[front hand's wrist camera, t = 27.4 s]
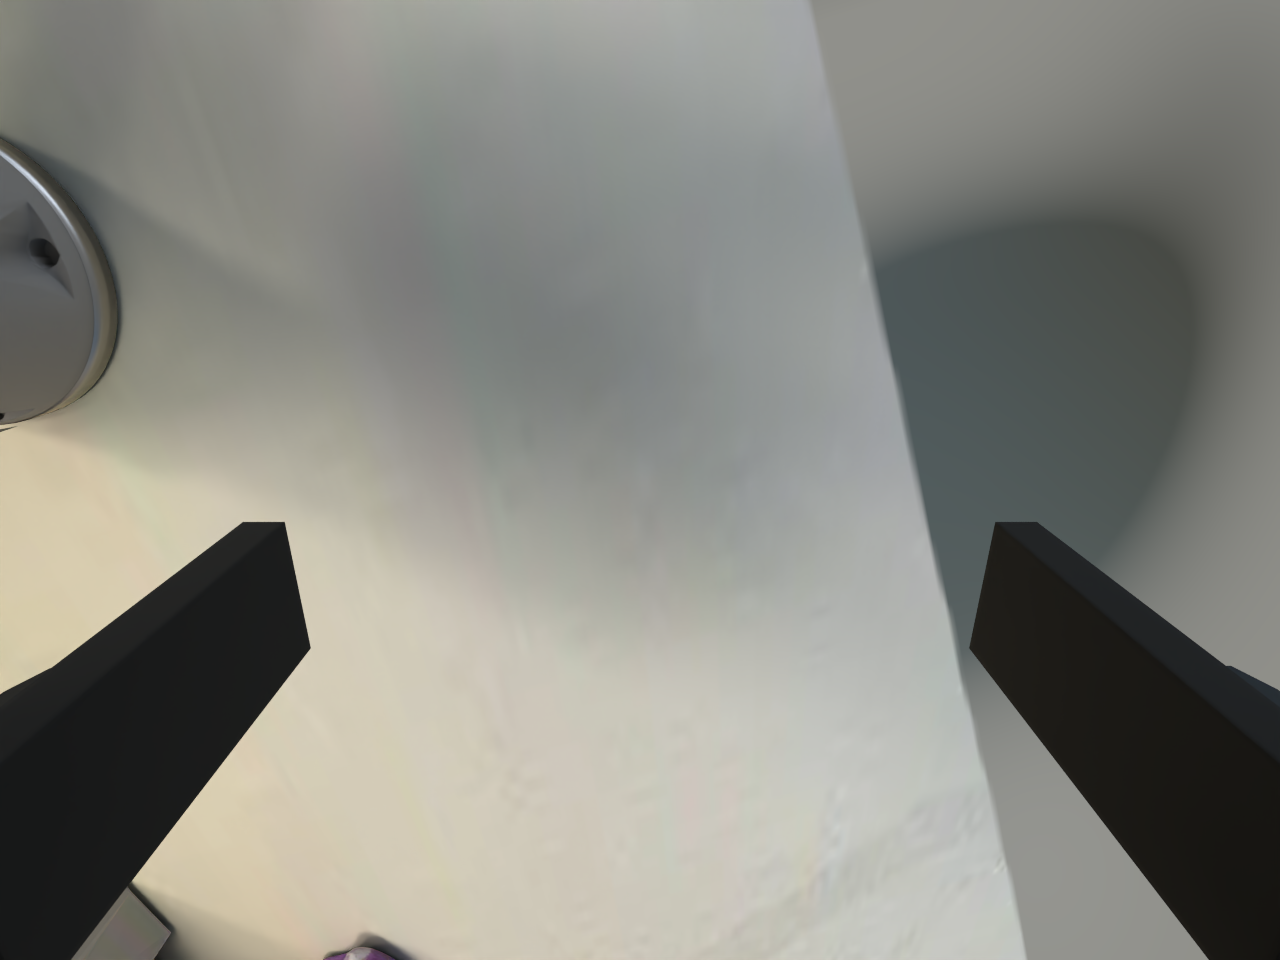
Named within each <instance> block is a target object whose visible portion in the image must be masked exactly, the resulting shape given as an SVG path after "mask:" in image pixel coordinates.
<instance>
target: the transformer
mask: <svg viewBox="0 0 1280 960" xmlns="http://www.w3.org/2000/svg"><path fill="white" fill-rule="evenodd" d="M170 934H171V932H170V931H169V930H168V929H167V928H166V927H165V926H164V925H163V924H162V923H161V922H160V921H159V920H158V919H157V918H156V917H155V916H154V915H153V914H152V913H151V912H150V911H149V909H148V908H147V907H146V906H145V905H144V904H143V903H142V902H141V901H140V900H139V899H138V898H137V897H136V896H135V895H134V894H133V893H132V892H131V891H130V889H129V888H128V886H127V888H126V889H125V890H124V892H123V893H122V894H121V895H120V897H119V898H118V899H117V901H116V902H115V903H114V905H113V906H112V907H111V908H110V910H109V911H108V912H107V914H106V915H105V916H104V918H103V919H102V920H101V921H100V923H99V924H98V925H97V927H96V928H95V929H94V931H93V932H92V933H91V934H90V936H89V937H88V938H87V940H86V941H85V942H84V944H83V945H82V946H81V947H80V949H79V950H78V951H77V953H76V954H75V955H74V957H73V958H72V959H71V960H155V959H154V958H155V957H156V955H157V954H158V952H159V951H160V949H161V947H162V946H163V944H164V943H165V941H166V940H167V938H168V937H169V935H170Z"/></svg>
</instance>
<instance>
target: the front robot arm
mask: <svg viewBox="0 0 1280 960" xmlns="http://www.w3.org/2000/svg"><path fill="white" fill-rule="evenodd" d="M116 332H117V301H116V293H115V288H114V283H113V279H112V275H111V272H110V269H109V265H108V262H107V260H106V257H105V255H104V252H103V250H102V247H101V245H100V243H99V241H98V239H97V237H96V235H95V233H94V232H93V230H92V228H91V227H90V225H89V223H88V222H87V220H86V218H85V217H84V215H83V214H82V213H81V211H80V210H79V208H78V207H77V206H76V204H75V203H74V202H73V200H72V199H71V198H70V197H69V196H68V194H67V193H66V192H65V191H64V190H63V188H62V187H61V186H60V185H59V184H58V183H57V182H56V181H55V180H54V179H53V178H52V177H51V176H50V175H49V174H48V173H47V172H46V171H45V170H43V169H42V168H41V167H40V166H39V165H38V164H37V163H35V162H34V161H33V160H32V159H30V158H29V157H28V156H26V155H25V154H24V153H23V152H21V151H20V150H18V149H17V148H15V147H14V146H12V145H11V144H9V143H8V142H6V141H4V140H2V139H1V138H0V425H4V424H11V423H17V422H21V421H25V420H29V419H32V418H35V417H38V416H41V415H44V414H47V413H50V412H53V411H56V410H58V409H61V408H63V407H65V406H67V405H69V404H71V403H73V402H74V401H76V400H77V399H78V398H80V397H81V396H83V395H84V394H85V393H86V392H87V391H88V390H89V389H90V388H91V387H92V386H93V385H94V384H95V383H96V381H97V380H98V379H99V377H100V376H101V374H102V373H103V371H104V370H105V368H106V366H107V363H108V361H109V359H110V357H111V354H112V350H113V347H114V343H115V338H116ZM16 427H17V426H16ZM11 428H14V427H11ZM11 428H6V429H1V430H0V432H2V431H5V430H8V429H11ZM310 648H311V647H310V642H309V638H308V633H307V628H306V623H305V618H304V613H303V609H302V604H301V599H300V594H299V589H298V584H297V580H296V575H295V570H294V565H293V560H292V555H291V551H290V546H289V541H288V536H287V531H286V526H285V522H243V523H241V524H240V525H239V526H237V527H236V528H235V529H233V530H232V531H231V532H229V533H228V534H227V535H226V536H224V537H223V538H222V539H220V540H219V541H218V542H216V543H215V544H214V545H212V546H211V547H210V548H208V549H207V550H206V551H205V552H203V553H202V554H201V555H199V556H198V557H197V558H195V559H194V560H193V561H191V562H190V563H189V564H187V565H186V566H185V567H183V568H182V569H181V570H180V571H178V572H177V573H176V574H174V575H173V576H172V577H170V578H169V579H168V580H166V581H165V582H164V583H162V584H161V585H160V586H159V587H157V588H156V589H155V590H153V591H152V592H151V593H149V594H148V595H147V596H145V597H144V598H143V599H141V600H140V601H139V602H138V603H136V604H135V605H134V606H132V607H131V608H130V609H128V610H127V611H126V612H124V613H123V614H122V615H120V616H119V617H118V618H116V619H115V620H114V621H113V622H111V623H110V624H109V625H107V626H106V627H105V628H103V629H102V630H101V631H99V632H98V633H97V634H95V635H94V636H93V637H92V638H90V639H89V640H88V641H86V642H85V643H84V644H82V645H81V646H80V647H78V648H77V649H76V650H74V651H73V652H72V653H71V654H69V655H68V656H67V657H65V658H64V659H63V660H61V661H60V662H59V663H57V664H56V665H55V666H53V667H52V668H50V669H48V670H46V671H44V672H42V673H40V674H38V675H36V676H34V677H32V678H30V679H28V680H26V681H24V682H22V683H20V684H18V685H16V686H14V687H12V688H11V689H9V690H7V691H5V692H3V693H2V694H0V960H71V959H72V958H73V957H74V955H75V954H76V953H77V951H78V950H79V949H80V947H81V946H82V945H83V944H84V942H85V941H86V940H87V938H88V937H89V936H90V934H91V933H92V932H93V931H94V929H95V928H96V927H97V925H98V924H99V923H100V921H101V920H102V919H103V918H104V916H105V915H106V914H107V912H108V911H109V910H110V908H111V907H112V906H113V905H114V903H115V902H116V901H117V899H118V898H119V897H120V895H121V894H122V893H123V892H124V890H125V889H126V888H127V886H128V885H129V884H130V882H131V881H132V880H133V879H134V877H135V876H136V875H137V873H138V872H139V871H140V869H141V868H142V867H143V866H144V864H145V863H146V862H147V860H148V859H149V858H150V856H151V855H152V854H153V853H154V851H155V850H156V849H157V847H158V846H159V845H160V843H161V842H162V841H163V840H164V838H165V837H166V836H167V834H168V833H169V832H170V830H171V829H172V828H173V827H174V825H175V824H176V823H177V821H178V820H179V819H180V817H181V816H182V815H183V814H184V812H185V811H186V810H187V808H188V807H189V806H190V804H191V803H192V802H193V801H194V799H195V798H196V797H197V795H198V794H199V793H200V791H201V790H202V789H203V788H204V786H205V785H206V784H207V782H208V781H209V780H210V778H211V777H212V776H213V775H214V773H215V772H216V771H217V769H218V768H219V767H220V765H221V764H222V763H223V762H224V760H225V759H226V758H227V756H228V755H229V754H230V752H231V751H232V750H233V749H234V747H235V746H236V745H237V743H238V742H239V741H240V739H241V738H242V737H243V735H244V734H245V733H246V732H247V730H248V729H249V728H250V726H251V725H252V724H253V722H254V721H255V720H256V719H257V717H258V716H259V715H260V713H261V712H262V711H263V709H264V708H265V707H266V706H267V704H268V703H269V702H270V700H271V699H272V698H273V696H274V695H275V694H276V693H277V691H278V690H279V689H280V687H281V686H282V685H283V683H284V682H285V681H286V680H287V678H288V677H289V676H290V674H291V673H292V672H293V670H294V669H295V668H296V667H297V665H298V664H299V663H300V661H301V660H302V659H303V657H304V656H305V655H306V654H307V652H308V651H309V650H310ZM969 648H970V650H971V651H972V652H973V654H974V655H975V656H976V657H977V659H978V660H979V661H980V663H981V664H982V665H983V667H984V668H985V669H986V670H987V672H988V673H989V674H990V676H991V677H992V678H993V680H994V681H995V682H996V683H997V685H998V686H999V687H1000V689H1001V690H1002V691H1003V693H1004V694H1005V695H1006V696H1007V698H1008V699H1009V700H1010V702H1011V703H1012V704H1013V706H1014V707H1015V708H1016V709H1017V711H1018V712H1019V713H1020V715H1021V716H1022V717H1023V719H1024V720H1025V721H1026V722H1027V724H1028V725H1029V726H1030V728H1031V729H1032V730H1033V732H1034V733H1035V734H1036V735H1037V737H1038V738H1039V739H1040V741H1041V742H1042V743H1043V745H1044V746H1045V747H1046V748H1047V750H1048V751H1049V752H1050V754H1051V755H1052V756H1053V758H1054V759H1055V760H1056V761H1057V763H1058V764H1059V765H1060V767H1061V768H1062V769H1063V771H1064V772H1065V773H1066V775H1067V776H1068V777H1069V778H1070V780H1071V781H1072V782H1073V784H1074V785H1075V786H1076V788H1077V789H1078V790H1079V791H1080V793H1081V794H1082V795H1083V797H1084V798H1085V799H1086V800H1087V802H1088V803H1089V804H1090V806H1091V807H1092V808H1093V810H1094V811H1095V812H1096V813H1097V815H1098V816H1099V817H1100V819H1101V820H1102V821H1103V823H1104V824H1105V825H1106V826H1107V828H1108V829H1109V830H1110V832H1111V833H1112V834H1113V836H1114V837H1115V838H1116V840H1117V841H1118V842H1119V843H1120V845H1121V846H1122V847H1123V849H1124V850H1125V851H1126V853H1127V854H1128V855H1129V856H1130V858H1131V859H1132V860H1133V862H1134V863H1135V864H1136V866H1137V867H1138V868H1139V869H1140V871H1141V872H1142V873H1143V875H1144V876H1145V877H1146V879H1147V880H1148V881H1149V882H1150V884H1151V885H1152V886H1153V888H1154V889H1155V890H1156V891H1157V893H1158V894H1159V895H1160V897H1161V898H1162V899H1163V901H1164V902H1165V903H1166V905H1167V906H1168V907H1169V908H1170V910H1171V911H1172V912H1173V914H1174V915H1175V916H1176V917H1177V919H1178V920H1179V921H1180V923H1181V924H1182V925H1183V927H1184V928H1185V929H1186V930H1187V932H1188V933H1189V934H1190V936H1191V937H1192V938H1193V940H1194V941H1195V942H1196V944H1197V945H1198V946H1199V947H1200V949H1201V950H1202V951H1203V953H1204V954H1205V955H1206V957H1207V958H1208V959H1209V960H1280V691H1279V690H1277V689H1275V688H1273V687H1271V686H1269V685H1268V684H1266V683H1264V682H1262V681H1260V680H1258V679H1256V678H1254V677H1252V676H1250V675H1248V674H1246V673H1244V672H1242V671H1240V670H1238V669H1236V668H1234V667H1232V666H1225V665H1224V664H1223V663H1221V662H1220V661H1219V660H1217V659H1216V658H1215V657H1213V656H1212V655H1211V654H1209V653H1208V652H1207V651H1206V650H1204V649H1203V648H1202V647H1200V646H1199V645H1198V644H1196V643H1195V642H1194V641H1192V640H1191V639H1190V638H1188V637H1187V636H1186V635H1185V634H1183V633H1182V632H1181V631H1179V630H1178V629H1177V628H1175V627H1174V626H1173V625H1171V624H1170V623H1169V622H1167V621H1166V620H1165V619H1164V618H1162V617H1161V616H1160V615H1158V614H1157V613H1156V612H1154V611H1153V610H1152V609H1150V608H1149V607H1148V606H1146V605H1145V604H1144V603H1142V602H1141V601H1140V600H1139V599H1137V598H1136V597H1135V596H1133V595H1132V594H1131V593H1129V592H1128V591H1127V590H1125V589H1124V588H1123V587H1121V586H1120V585H1119V584H1118V583H1116V582H1115V581H1114V580H1112V579H1111V578H1110V577H1108V576H1107V575H1106V574H1104V573H1103V572H1102V571H1100V570H1099V569H1098V568H1097V567H1095V566H1094V565H1093V564H1091V563H1090V562H1089V561H1087V560H1086V559H1085V558H1083V557H1082V556H1081V555H1079V554H1078V553H1077V552H1075V551H1074V550H1073V549H1072V548H1070V547H1069V546H1068V545H1066V544H1065V543H1064V542H1062V541H1061V540H1060V539H1058V538H1057V537H1056V536H1054V535H1053V534H1052V533H1050V532H1049V531H1048V530H1047V529H1045V528H1044V527H1043V526H1041V525H1040V524H1039V523H1037V522H995V526H994V531H993V536H992V541H991V546H990V551H989V555H988V560H987V565H986V570H985V575H984V580H983V584H982V589H981V594H980V599H979V604H978V609H977V614H976V618H975V623H974V628H973V633H972V638H971V643H970V647H969Z"/></svg>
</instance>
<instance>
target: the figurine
mask: <svg viewBox="0 0 1280 960" xmlns="http://www.w3.org/2000/svg"><path fill="white" fill-rule="evenodd" d="M324 960H395V959H393V958H392V957H390V956H388V955H387V954H385V953H382V952H380V951H378V950H375V949H372V948H367V947H356V948H354V949H352V950H351V951H349V952H348V953H345V954H344V953H343V954H341V955H335V956H331V957H328V958H325V959H324Z"/></svg>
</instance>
